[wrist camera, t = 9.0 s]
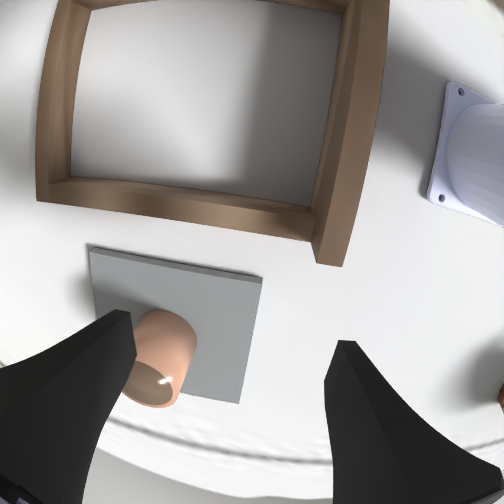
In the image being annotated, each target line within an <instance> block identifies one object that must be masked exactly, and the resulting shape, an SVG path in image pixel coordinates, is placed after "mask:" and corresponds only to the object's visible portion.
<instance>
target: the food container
mask: <svg viewBox="0 0 504 504" xmlns="http://www.w3.org/2000/svg"><path fill="white" fill-rule="evenodd" d="M498 401H499V403H500V406H501V408H502V410H503V413H504V384H503V386H502V388H501V390H500V392H499V395H498Z"/></svg>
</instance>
